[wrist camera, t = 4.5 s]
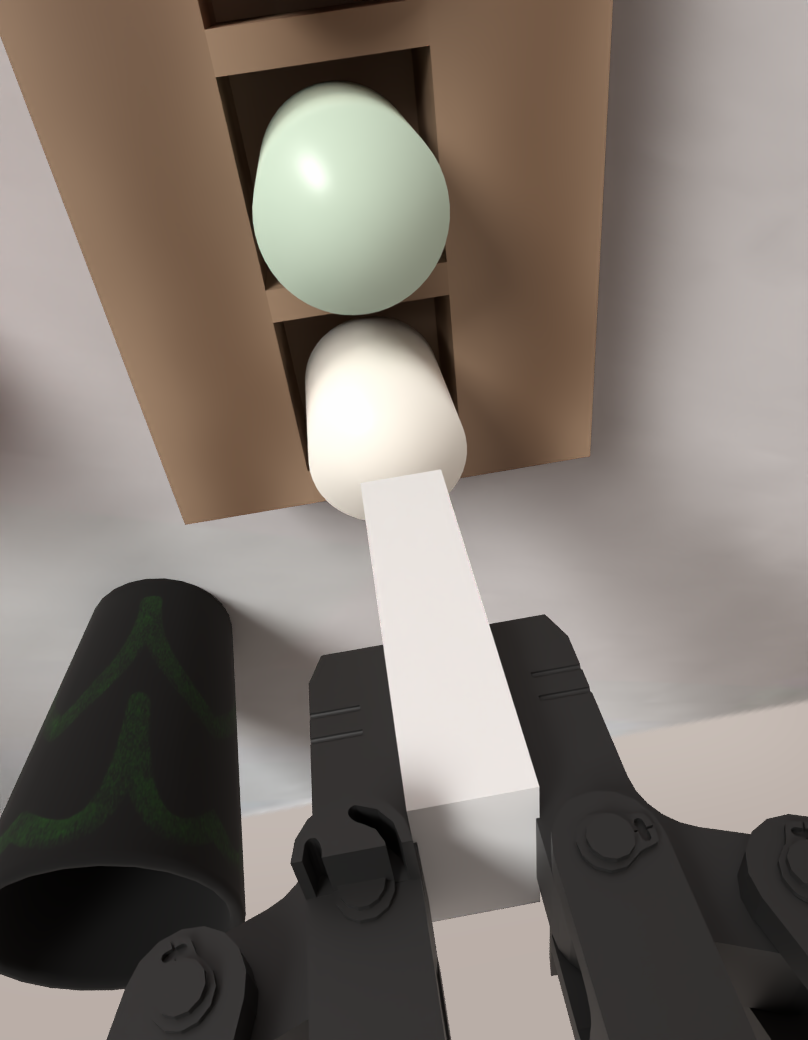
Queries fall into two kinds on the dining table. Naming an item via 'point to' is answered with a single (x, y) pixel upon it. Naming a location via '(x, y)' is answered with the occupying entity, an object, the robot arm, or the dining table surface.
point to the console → (229, 216)
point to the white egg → (377, 411)
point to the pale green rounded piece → (348, 200)
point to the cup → (127, 796)
